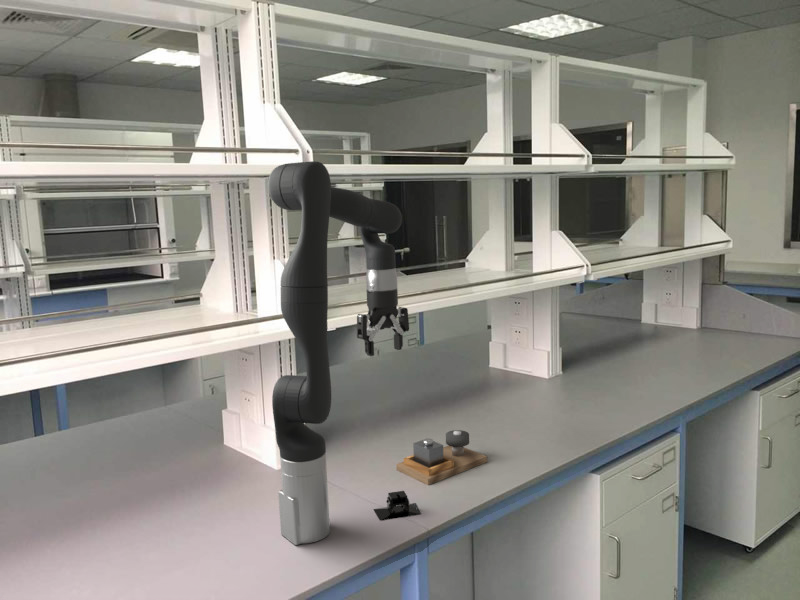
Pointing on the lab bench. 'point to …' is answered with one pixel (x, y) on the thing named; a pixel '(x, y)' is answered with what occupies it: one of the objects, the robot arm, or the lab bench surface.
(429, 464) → the grey box with knob
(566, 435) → the lab bench surface
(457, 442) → the wheel
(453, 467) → the wooden base board
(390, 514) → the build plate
